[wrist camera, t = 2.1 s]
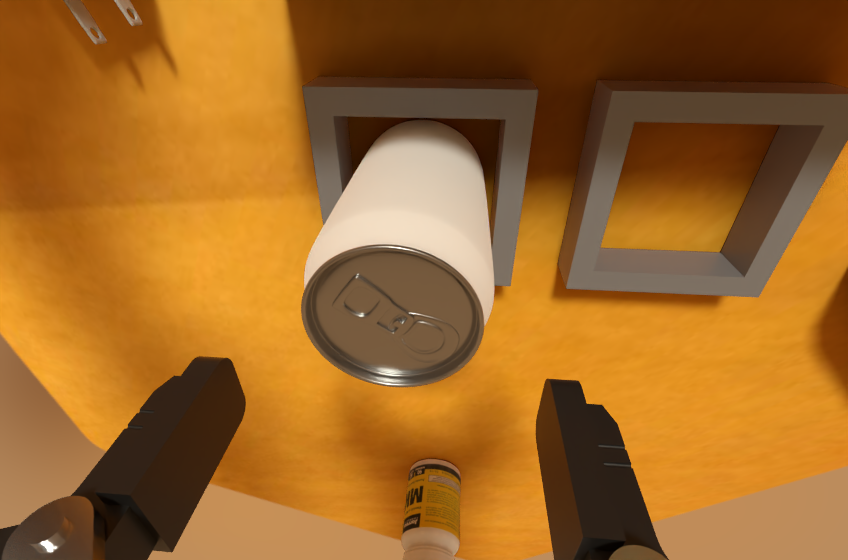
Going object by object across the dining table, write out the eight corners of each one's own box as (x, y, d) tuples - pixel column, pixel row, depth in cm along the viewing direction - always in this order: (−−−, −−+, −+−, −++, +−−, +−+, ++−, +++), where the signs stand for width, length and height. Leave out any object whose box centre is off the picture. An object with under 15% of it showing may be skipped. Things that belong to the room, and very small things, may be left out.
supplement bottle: (419, 451, 37) (408, 557, 30) (468, 465, 38) (469, 572, 31) (402, 478, 40) (389, 581, 33) (449, 491, 40) (445, 595, 33)
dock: (326, 254, 26) (271, 360, 19) (279, -42, 18) (147, -64, 10) (751, 272, 24) (876, 395, 17) (920, -46, 16) (1309, -74, 9)
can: (434, 251, 25) (415, 420, 15) (342, 188, 23) (253, 334, 14) (509, 169, 22) (545, 315, 12) (408, 88, 20) (355, 184, 10)
